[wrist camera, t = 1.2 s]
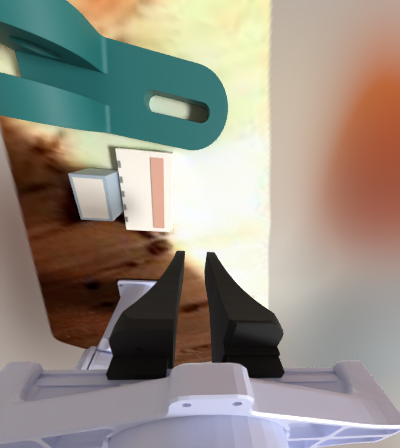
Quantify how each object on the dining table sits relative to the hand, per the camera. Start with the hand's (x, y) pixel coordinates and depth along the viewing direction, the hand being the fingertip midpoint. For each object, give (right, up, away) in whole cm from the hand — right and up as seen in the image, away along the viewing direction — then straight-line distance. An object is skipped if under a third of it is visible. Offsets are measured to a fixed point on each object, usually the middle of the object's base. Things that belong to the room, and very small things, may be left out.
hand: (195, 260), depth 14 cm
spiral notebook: (-6, +7, +7) cm, 12 cm away
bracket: (-6, +16, +3) cm, 17 cm away
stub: (-11, +7, +7) cm, 15 cm away
